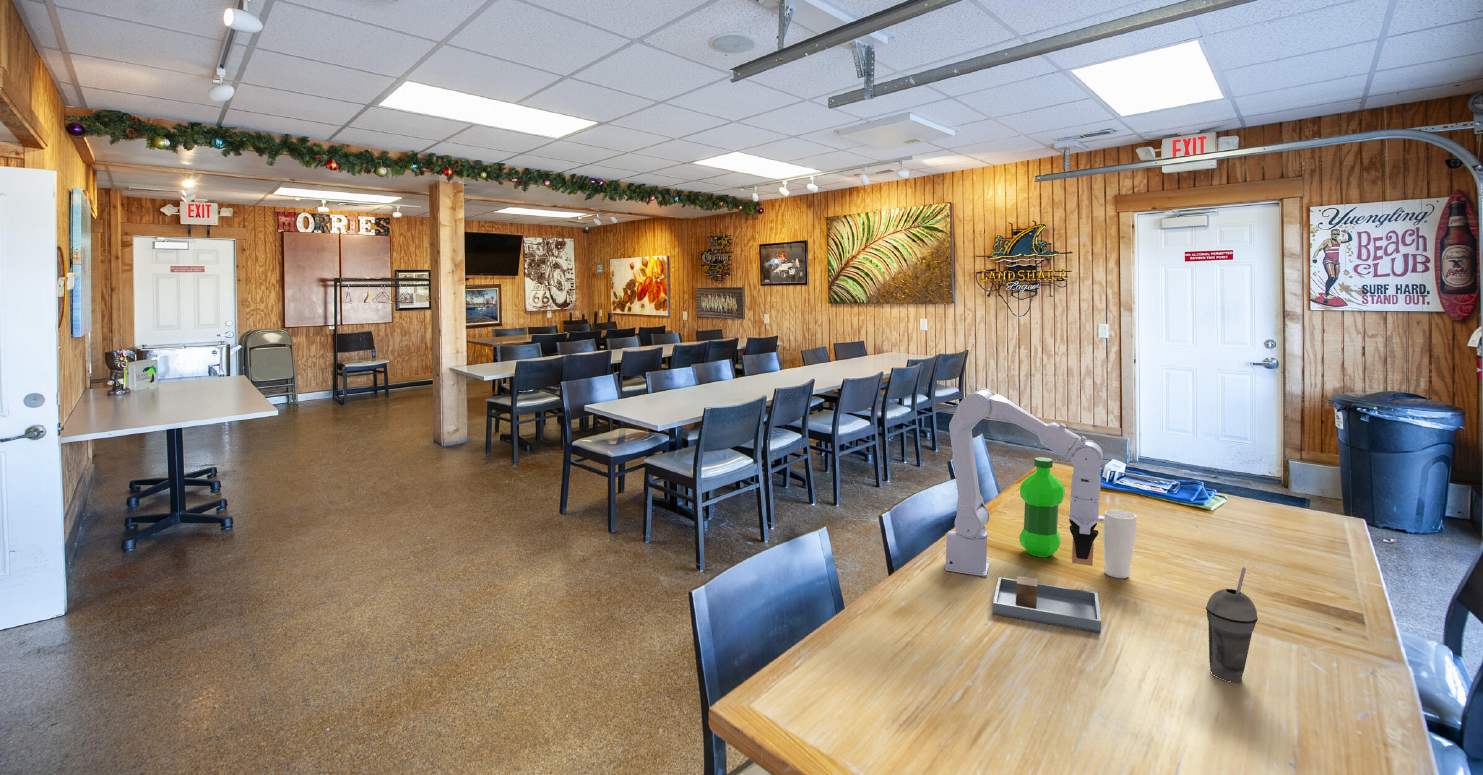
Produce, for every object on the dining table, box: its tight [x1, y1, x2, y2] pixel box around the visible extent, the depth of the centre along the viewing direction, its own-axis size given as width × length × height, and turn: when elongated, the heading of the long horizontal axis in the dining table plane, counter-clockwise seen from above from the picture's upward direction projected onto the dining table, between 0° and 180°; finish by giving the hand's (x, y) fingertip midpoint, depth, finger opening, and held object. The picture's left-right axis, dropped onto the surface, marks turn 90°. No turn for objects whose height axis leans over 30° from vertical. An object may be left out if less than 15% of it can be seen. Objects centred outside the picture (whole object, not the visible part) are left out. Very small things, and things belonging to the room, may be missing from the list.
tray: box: [992, 576, 1102, 634], centre depth 141 cm, size 20×14×2 cm
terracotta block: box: [1071, 537, 1095, 567], centre depth 149 cm, size 4×4×5 cm
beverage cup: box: [1205, 567, 1259, 683], centre depth 115 cm, size 7×7×20 cm
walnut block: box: [1016, 575, 1039, 609], centre depth 143 cm, size 4×4×5 cm
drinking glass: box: [1102, 509, 1138, 579], centre depth 157 cm, size 7×7×15 cm
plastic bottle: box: [1018, 456, 1066, 558], centre depth 170 cm, size 10×10×25 cm
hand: (1081, 554), depth 149 cm, fingers closed on terracotta block, 4 cm apart
